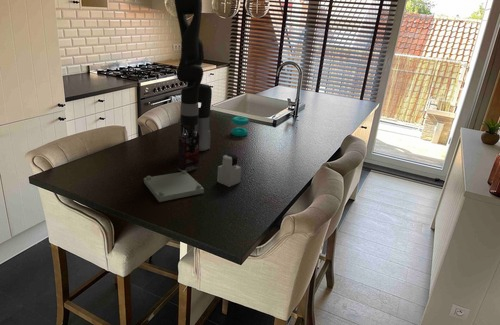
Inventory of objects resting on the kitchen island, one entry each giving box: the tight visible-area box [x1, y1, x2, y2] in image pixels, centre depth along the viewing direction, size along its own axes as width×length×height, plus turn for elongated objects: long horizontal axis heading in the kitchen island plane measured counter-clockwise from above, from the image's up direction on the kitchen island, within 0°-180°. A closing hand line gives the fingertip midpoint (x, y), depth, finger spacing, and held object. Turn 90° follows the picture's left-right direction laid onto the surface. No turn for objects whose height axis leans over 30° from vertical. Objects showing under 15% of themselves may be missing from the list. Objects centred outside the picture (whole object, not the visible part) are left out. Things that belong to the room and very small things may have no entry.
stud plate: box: [143, 170, 205, 203], centre depth 144 cm, size 18×18×3 cm
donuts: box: [230, 116, 250, 138], centre depth 214 cm, size 10×10×10 cm
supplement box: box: [177, 135, 200, 173], centre depth 160 cm, size 9×5×16 cm, turn 143°
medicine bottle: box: [216, 153, 242, 188], centre depth 151 cm, size 7×7×12 cm
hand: (188, 150), depth 160 cm, fingers closed on supplement box, 6 cm apart
